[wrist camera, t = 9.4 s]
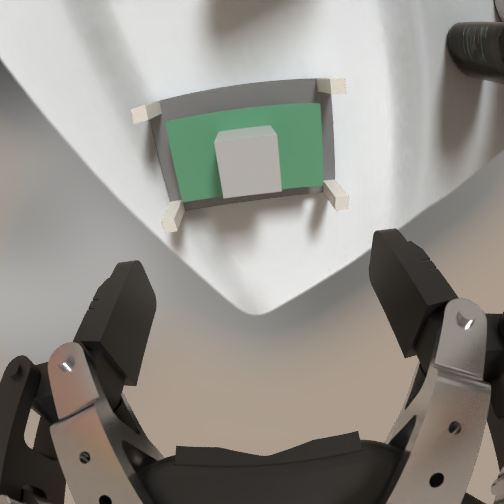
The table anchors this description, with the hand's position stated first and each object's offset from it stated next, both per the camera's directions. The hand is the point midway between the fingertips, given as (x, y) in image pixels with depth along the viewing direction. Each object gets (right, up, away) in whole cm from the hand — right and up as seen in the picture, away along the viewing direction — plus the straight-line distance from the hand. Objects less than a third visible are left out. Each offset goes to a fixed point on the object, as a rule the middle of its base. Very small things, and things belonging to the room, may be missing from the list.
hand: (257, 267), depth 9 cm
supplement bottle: (+24, +23, +8) cm, 34 cm away
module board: (-1, +9, +13) cm, 16 cm away
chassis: (-1, +11, +15) cm, 19 cm away
